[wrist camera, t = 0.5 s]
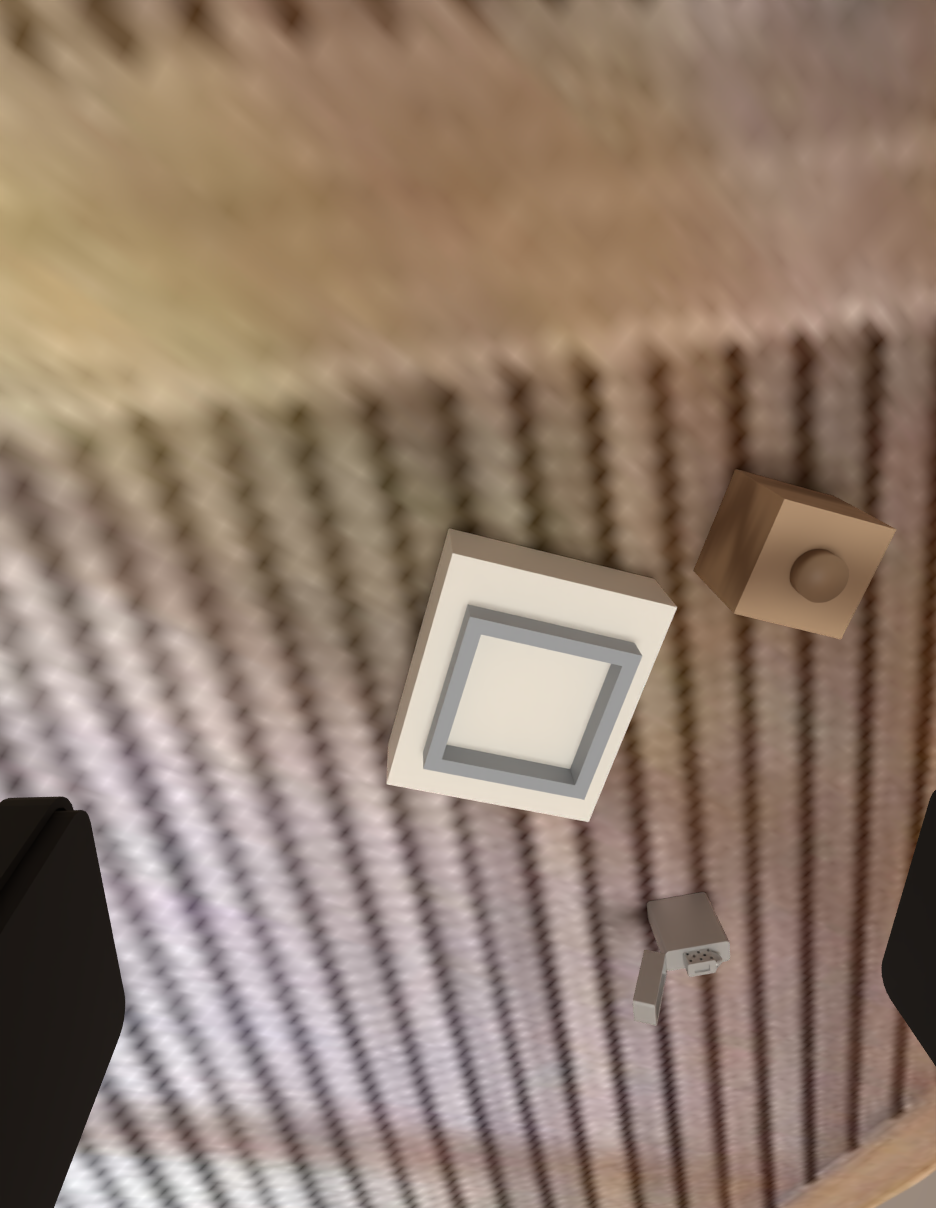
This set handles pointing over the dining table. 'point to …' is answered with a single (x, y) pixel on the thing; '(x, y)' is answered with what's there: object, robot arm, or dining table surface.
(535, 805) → the base plate
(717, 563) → the walnut block
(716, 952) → the lighter
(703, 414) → the dining table surface
